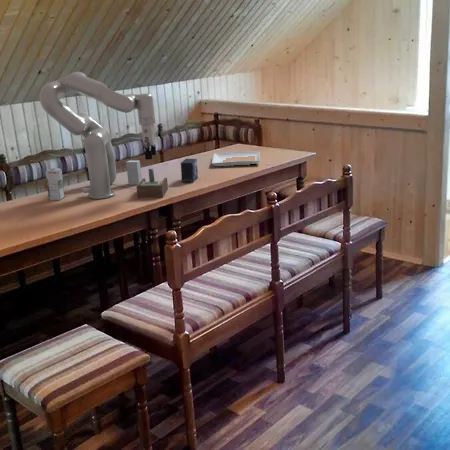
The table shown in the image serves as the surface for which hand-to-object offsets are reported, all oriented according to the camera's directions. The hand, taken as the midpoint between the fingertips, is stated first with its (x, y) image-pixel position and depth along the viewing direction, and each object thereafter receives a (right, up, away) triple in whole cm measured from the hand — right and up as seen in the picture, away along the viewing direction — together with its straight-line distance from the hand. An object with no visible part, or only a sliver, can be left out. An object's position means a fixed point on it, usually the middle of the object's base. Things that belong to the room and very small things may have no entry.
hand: (150, 157), depth 296 cm
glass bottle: (-26, -11, +29) cm, 41 cm away
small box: (+17, -9, +28) cm, 34 cm away
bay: (0, -17, +5) cm, 18 cm away
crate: (0, -17, +3) cm, 17 cm away
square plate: (+42, +4, +65) cm, 78 cm away
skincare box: (-11, -11, +26) cm, 31 cm away
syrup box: (-46, -20, +5) cm, 50 cm away
